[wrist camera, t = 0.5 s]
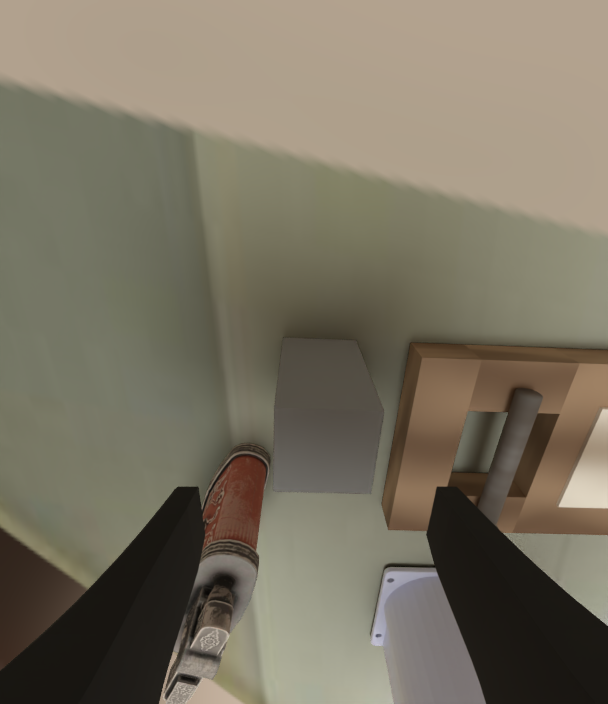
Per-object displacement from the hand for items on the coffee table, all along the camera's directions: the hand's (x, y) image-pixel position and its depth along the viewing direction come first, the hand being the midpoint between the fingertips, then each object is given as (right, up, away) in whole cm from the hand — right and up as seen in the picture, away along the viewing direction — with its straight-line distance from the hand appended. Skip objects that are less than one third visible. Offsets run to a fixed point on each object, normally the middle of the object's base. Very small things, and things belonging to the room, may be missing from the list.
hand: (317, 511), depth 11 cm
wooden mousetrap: (+14, 0, +11) cm, 18 cm away
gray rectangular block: (0, +4, +9) cm, 10 cm away
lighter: (-5, -4, +13) cm, 14 cm away
